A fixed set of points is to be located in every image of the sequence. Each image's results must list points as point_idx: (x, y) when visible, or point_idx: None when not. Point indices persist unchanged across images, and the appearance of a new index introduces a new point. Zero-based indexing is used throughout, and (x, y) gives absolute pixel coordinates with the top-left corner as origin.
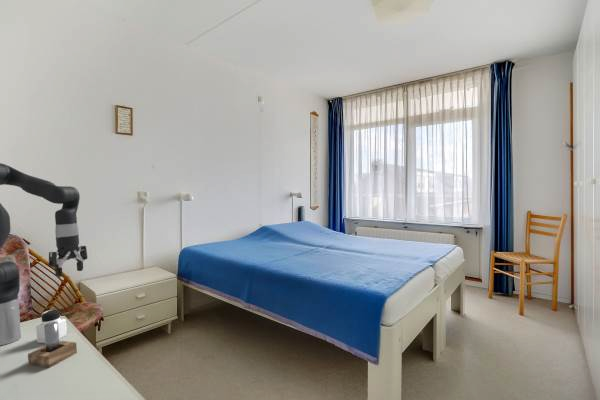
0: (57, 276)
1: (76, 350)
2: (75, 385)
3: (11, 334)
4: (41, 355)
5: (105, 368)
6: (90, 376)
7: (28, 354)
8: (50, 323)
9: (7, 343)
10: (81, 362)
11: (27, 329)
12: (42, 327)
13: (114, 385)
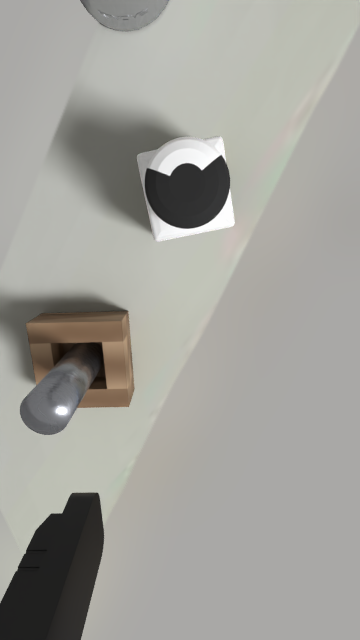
0: (74, 501)
1: (132, 393)
2: (32, 513)
3: (111, 6)
4: (36, 379)
5: None
6: None
7: (27, 325)
8: (48, 404)
9: (103, 24)
10: (101, 446)
11: None
12: (144, 193)
13: None
